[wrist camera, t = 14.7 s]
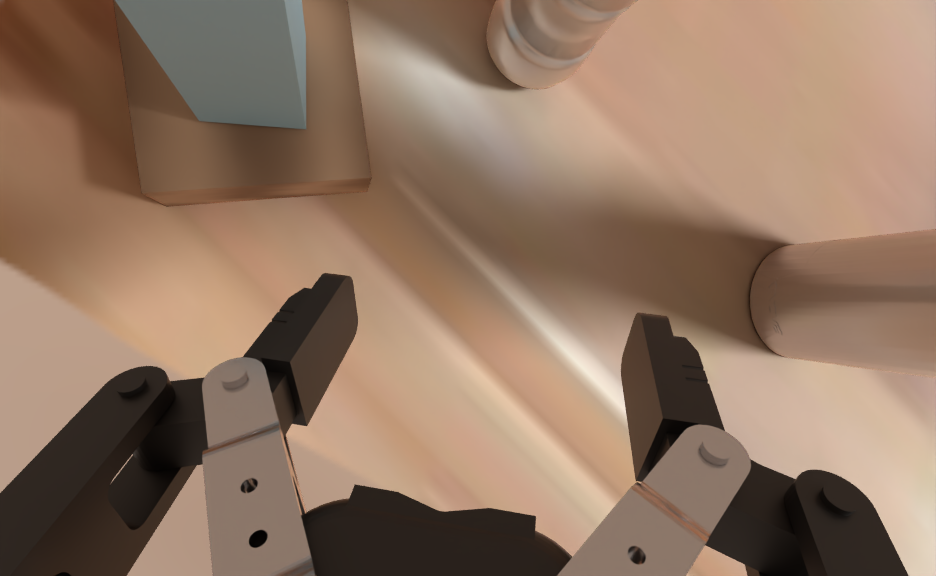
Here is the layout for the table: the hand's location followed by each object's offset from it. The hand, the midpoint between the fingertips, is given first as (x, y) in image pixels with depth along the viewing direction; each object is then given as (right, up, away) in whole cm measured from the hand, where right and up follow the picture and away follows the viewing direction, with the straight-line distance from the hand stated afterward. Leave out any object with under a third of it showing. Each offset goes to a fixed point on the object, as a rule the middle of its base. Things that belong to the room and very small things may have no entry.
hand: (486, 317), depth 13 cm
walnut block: (-13, +12, +14) cm, 23 cm away
